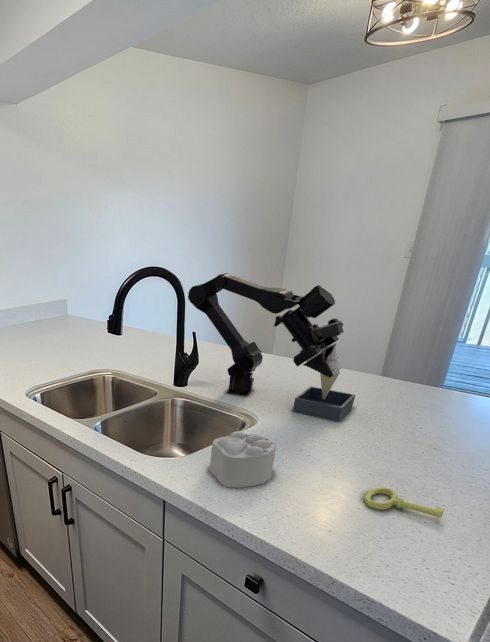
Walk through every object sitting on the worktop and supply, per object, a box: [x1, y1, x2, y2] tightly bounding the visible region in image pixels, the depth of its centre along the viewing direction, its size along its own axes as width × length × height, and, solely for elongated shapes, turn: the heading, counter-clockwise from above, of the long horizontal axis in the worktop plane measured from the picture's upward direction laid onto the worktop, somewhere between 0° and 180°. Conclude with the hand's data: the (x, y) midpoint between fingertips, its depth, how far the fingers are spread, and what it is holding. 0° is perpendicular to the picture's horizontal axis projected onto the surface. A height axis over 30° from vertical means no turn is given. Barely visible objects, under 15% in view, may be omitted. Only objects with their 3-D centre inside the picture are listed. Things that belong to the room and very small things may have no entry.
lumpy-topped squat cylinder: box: [209, 430, 277, 489], centre depth 95 cm, size 10×13×9 cm
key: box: [363, 487, 445, 519], centre depth 83 cm, size 7×12×2 cm, turn 60°
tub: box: [292, 385, 356, 422], centre depth 124 cm, size 12×12×4 cm
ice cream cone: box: [319, 347, 342, 399], centre depth 120 cm, size 5×5×15 cm
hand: (334, 374), depth 120 cm, fingers closed on ice cream cone, 5 cm apart
